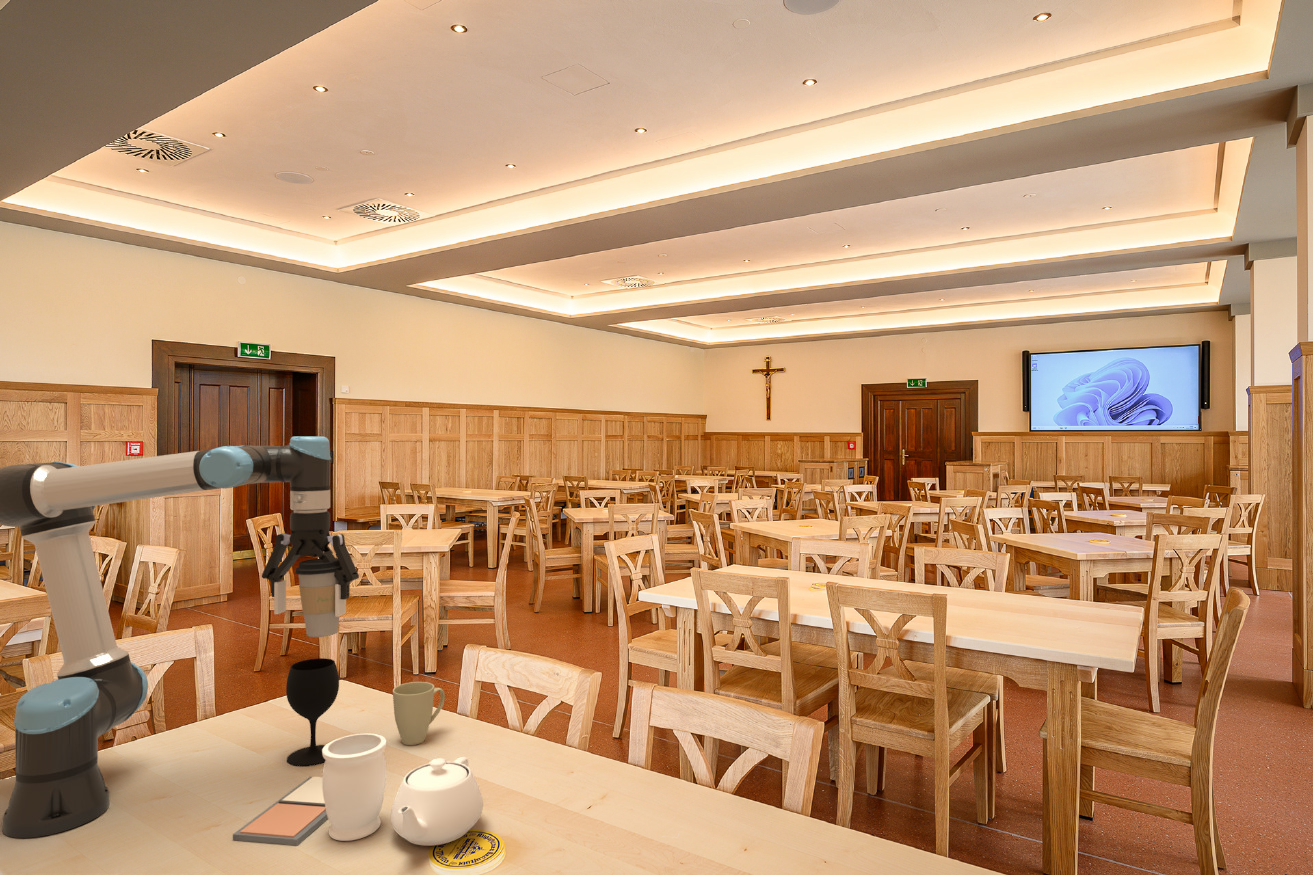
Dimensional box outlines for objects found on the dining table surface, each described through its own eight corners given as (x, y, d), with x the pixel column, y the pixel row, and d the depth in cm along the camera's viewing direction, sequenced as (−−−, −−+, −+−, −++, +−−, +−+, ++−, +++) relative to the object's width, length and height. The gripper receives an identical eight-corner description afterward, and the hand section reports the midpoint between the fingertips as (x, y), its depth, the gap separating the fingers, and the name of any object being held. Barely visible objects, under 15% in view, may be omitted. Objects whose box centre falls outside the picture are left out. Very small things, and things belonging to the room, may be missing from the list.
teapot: (427, 795, 144) (427, 731, 144) (503, 801, 142) (503, 737, 142) (354, 868, 120) (354, 792, 120) (445, 878, 117) (445, 800, 117)
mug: (431, 749, 166) (431, 694, 166) (386, 748, 166) (386, 694, 166) (445, 729, 176) (445, 678, 176) (403, 729, 177) (403, 678, 177)
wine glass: (349, 753, 163) (349, 661, 163) (304, 771, 155) (304, 674, 155) (320, 742, 169) (320, 654, 169) (276, 759, 160) (276, 666, 160)
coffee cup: (328, 640, 149) (326, 564, 149) (286, 639, 150) (284, 564, 150) (356, 628, 158) (354, 557, 158) (316, 627, 160) (314, 557, 160)
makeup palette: (232, 839, 128) (232, 831, 128) (310, 781, 150) (310, 773, 150) (297, 845, 126) (297, 836, 126) (365, 785, 148) (365, 777, 148)
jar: (346, 851, 125) (346, 762, 124) (309, 834, 130) (309, 748, 130) (399, 823, 134) (399, 740, 133) (362, 808, 139) (362, 728, 139)
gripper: (242, 511, 152) (242, 615, 152) (356, 513, 149) (356, 620, 149) (267, 508, 160) (267, 607, 160) (376, 510, 156) (376, 611, 156)
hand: (310, 614), depth 154 cm, fingers open, 13 cm apart
